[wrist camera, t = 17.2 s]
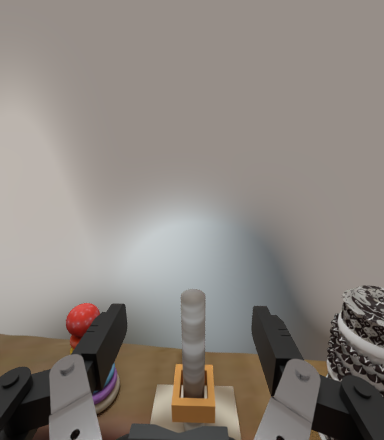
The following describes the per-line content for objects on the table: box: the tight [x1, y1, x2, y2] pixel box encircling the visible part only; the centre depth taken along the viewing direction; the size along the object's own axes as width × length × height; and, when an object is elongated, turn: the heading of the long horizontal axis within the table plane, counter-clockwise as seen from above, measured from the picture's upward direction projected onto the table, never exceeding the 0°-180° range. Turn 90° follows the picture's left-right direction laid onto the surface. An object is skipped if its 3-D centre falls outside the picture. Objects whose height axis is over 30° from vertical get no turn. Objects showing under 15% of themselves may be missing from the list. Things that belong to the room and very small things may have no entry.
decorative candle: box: [318, 286, 384, 440], centre depth 29 cm, size 9×9×25 cm
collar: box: [171, 364, 215, 423], centre depth 29 cm, size 6×6×3 cm
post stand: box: [150, 289, 241, 440], centre depth 29 cm, size 14×14×26 cm
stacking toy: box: [66, 303, 120, 414], centre depth 36 cm, size 8×8×19 cm
